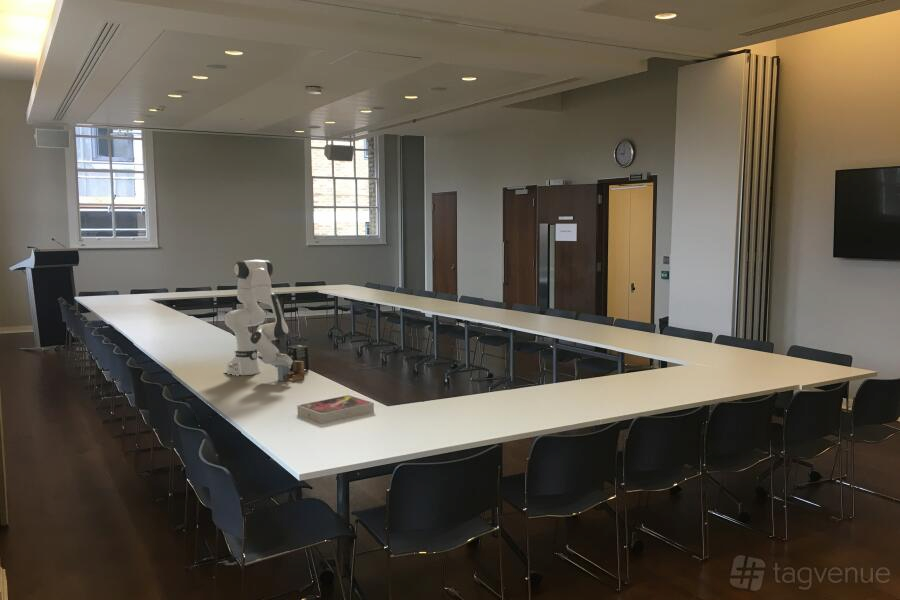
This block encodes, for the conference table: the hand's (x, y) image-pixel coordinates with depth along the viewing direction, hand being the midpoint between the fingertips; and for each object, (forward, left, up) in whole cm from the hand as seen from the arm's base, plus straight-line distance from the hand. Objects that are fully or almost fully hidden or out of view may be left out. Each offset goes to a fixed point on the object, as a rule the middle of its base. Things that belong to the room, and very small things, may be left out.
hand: (283, 367), depth 411 cm
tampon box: (-10, +24, -7) cm, 27 cm away
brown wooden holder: (+7, +2, -7) cm, 10 cm away
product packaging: (+74, -47, -8) cm, 88 cm away
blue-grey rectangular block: (0, 0, -7) cm, 7 cm away
